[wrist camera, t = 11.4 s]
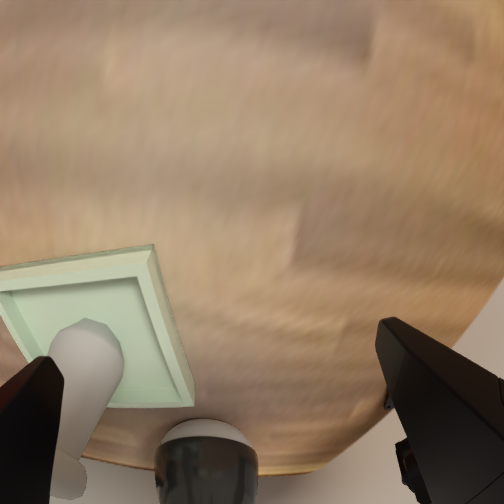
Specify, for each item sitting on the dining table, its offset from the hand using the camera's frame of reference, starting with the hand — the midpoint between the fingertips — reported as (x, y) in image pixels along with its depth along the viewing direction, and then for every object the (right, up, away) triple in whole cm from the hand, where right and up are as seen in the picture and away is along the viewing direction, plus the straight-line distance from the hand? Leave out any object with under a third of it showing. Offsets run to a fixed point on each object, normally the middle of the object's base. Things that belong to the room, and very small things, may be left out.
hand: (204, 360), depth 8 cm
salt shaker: (-11, -4, +14) cm, 18 cm away
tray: (-11, -4, +15) cm, 19 cm away
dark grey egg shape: (-4, -16, +22) cm, 28 cm away
